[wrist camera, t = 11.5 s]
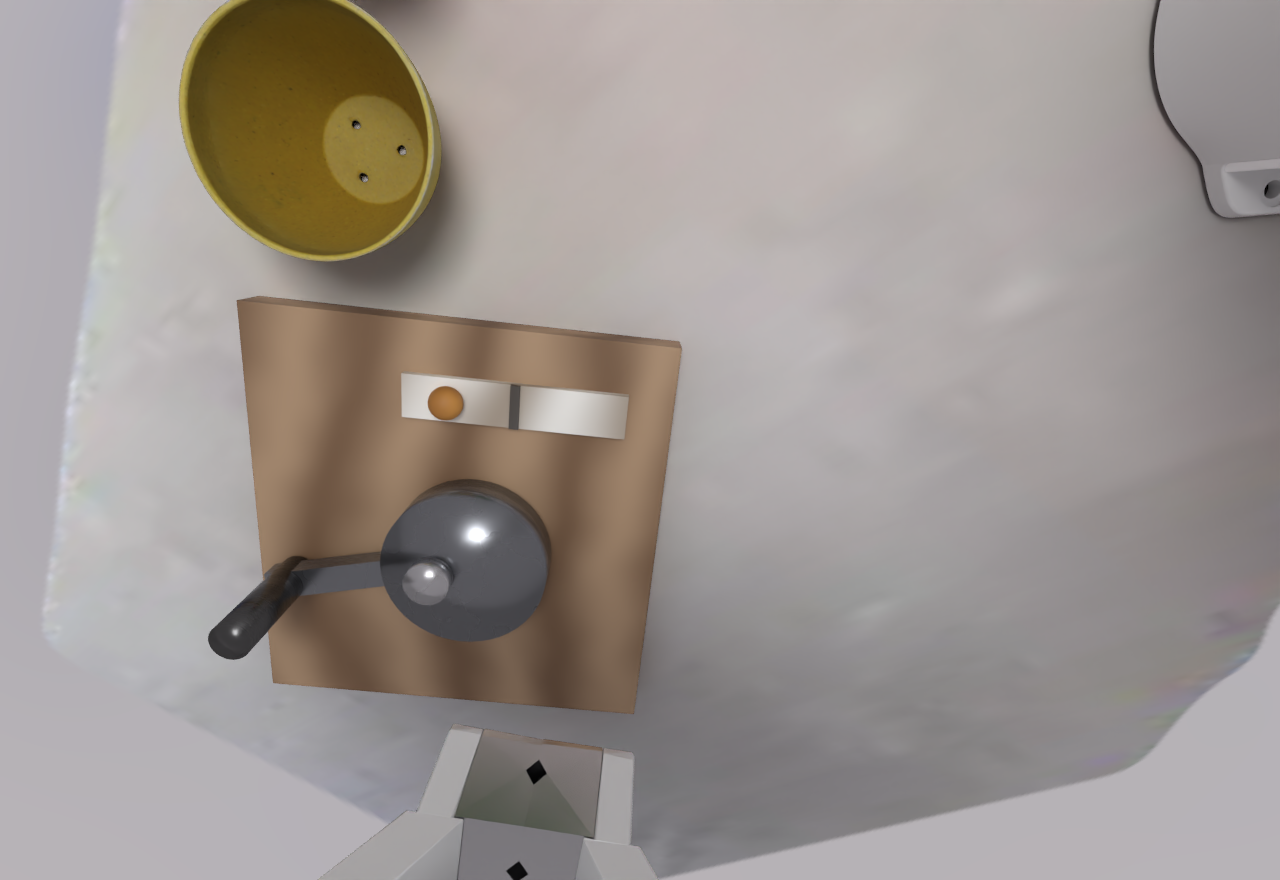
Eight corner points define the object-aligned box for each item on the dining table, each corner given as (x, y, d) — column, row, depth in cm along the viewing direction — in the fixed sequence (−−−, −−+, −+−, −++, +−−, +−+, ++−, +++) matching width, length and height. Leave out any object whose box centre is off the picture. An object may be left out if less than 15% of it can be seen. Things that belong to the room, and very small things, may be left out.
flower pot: (255, 37, 31) (146, -15, 24) (464, 32, 31) (415, -22, 24) (296, 255, 34) (211, 264, 27) (485, 251, 34) (447, 258, 27)
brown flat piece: (679, 341, 35) (684, 355, 32) (633, 692, 43) (633, 737, 39) (258, 295, 34) (212, 305, 31) (289, 662, 42) (255, 705, 38)
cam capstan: (536, 470, 35) (514, 524, 29) (563, 608, 38) (548, 684, 32) (257, 503, 36) (176, 564, 30) (304, 637, 39) (239, 717, 33)
